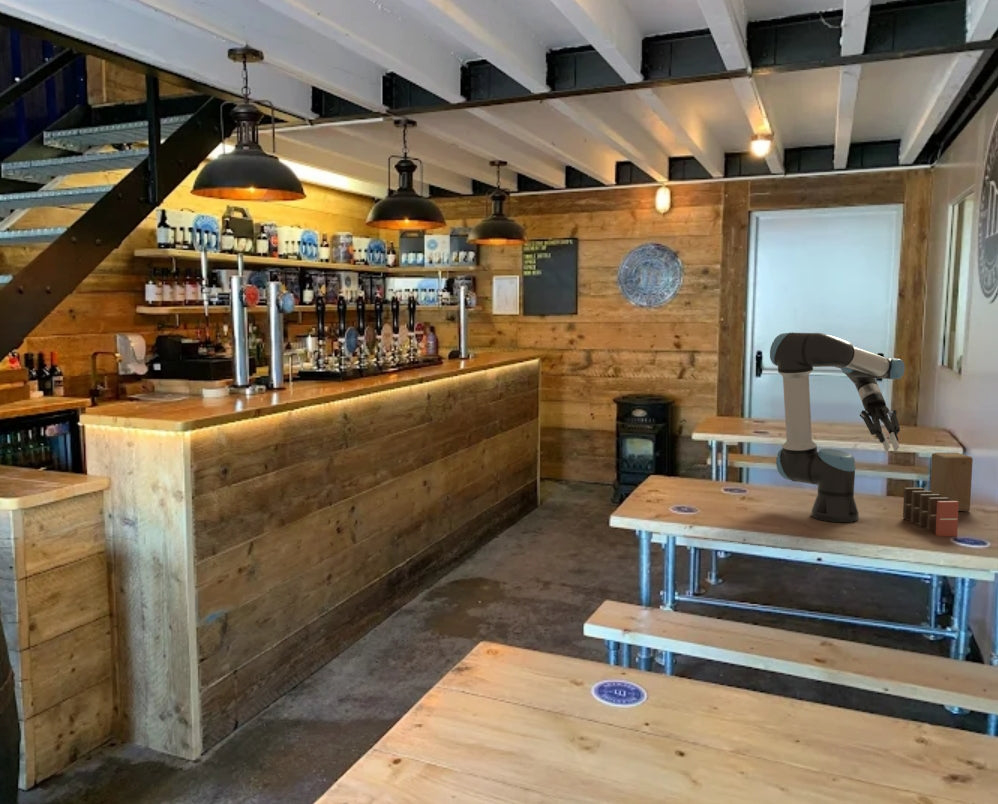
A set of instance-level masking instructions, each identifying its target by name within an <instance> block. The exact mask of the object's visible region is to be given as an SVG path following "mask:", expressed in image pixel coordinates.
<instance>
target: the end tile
mask: <svg viewBox="0 0 998 804" xmlns="http://www.w3.org/2000/svg"><path fill="white" fill-rule="evenodd" d="M958 509H959V502H957V501H937V515H936V532H935V536H937V535H938V536H937V537H957V536H958V524H959V512H958Z"/></svg>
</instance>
